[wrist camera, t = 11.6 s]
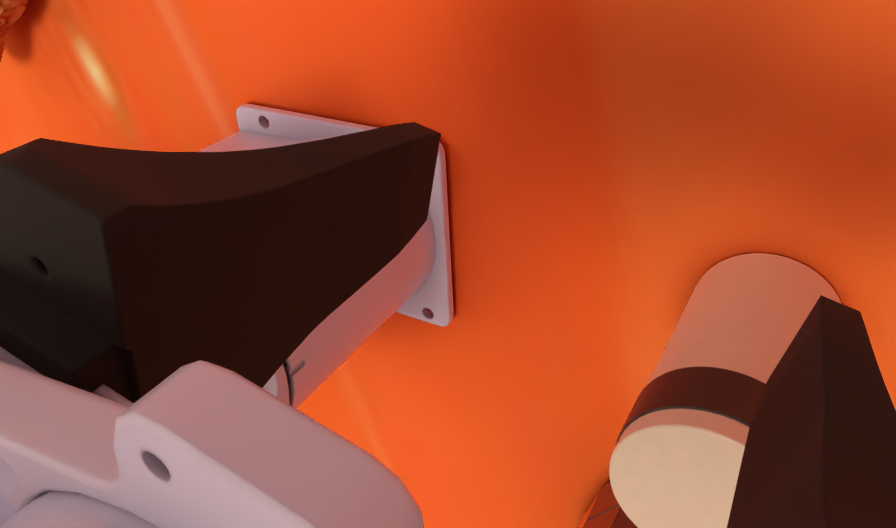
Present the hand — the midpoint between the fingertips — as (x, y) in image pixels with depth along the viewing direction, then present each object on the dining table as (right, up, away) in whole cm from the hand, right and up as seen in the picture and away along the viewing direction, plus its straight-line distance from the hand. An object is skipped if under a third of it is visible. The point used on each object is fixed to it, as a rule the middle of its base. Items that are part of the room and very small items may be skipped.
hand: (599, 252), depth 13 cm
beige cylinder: (+7, -2, +9) cm, 12 cm away
